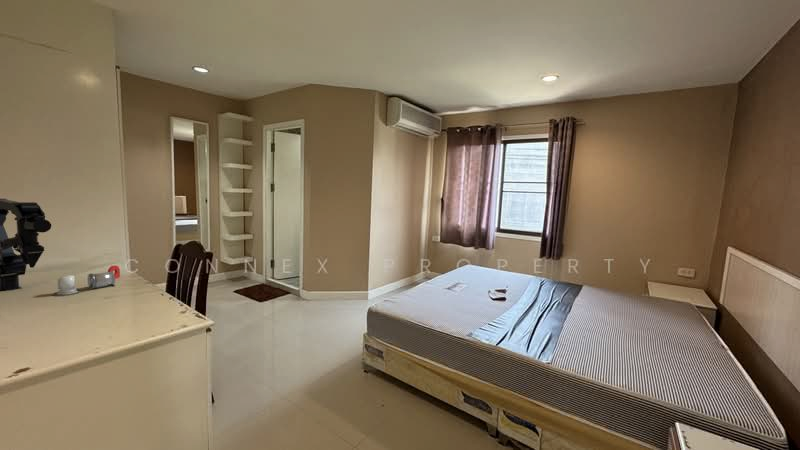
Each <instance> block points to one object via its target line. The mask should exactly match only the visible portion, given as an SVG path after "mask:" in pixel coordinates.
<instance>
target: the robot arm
mask: <svg viewBox="0 0 800 450" xmlns="http://www.w3.org/2000/svg"><path fill="white" fill-rule="evenodd" d="M9 212H10V213H11V214H12V215H15V217H14V221H16V233H15V234H14V236H13V237H9V236H8V233H7V231H6V228H5V226H4V224H5V222H6V220H7V215H8V214H10V213H9ZM51 228H52V223H51V222H50V221H49V220H48V219H46V215H45V212H44V211H43V209H42V208H41V205H39V204H38V202H33V201H32V202H31V201H29V202H23V201H22V202H21V201H16V200H10V199H8V198H0V292H7V291H13V290H22V289H23V287H21V286H20V279H19V278H20V277H19V276H25V274H26V272H27V271H26V270H27V266H28V265H29V268H30V269H31V268H35V266H36V264H37V262H38V261H39V259H40V258H41V256H42V255H43V254H44V252H45V247H44V246H43V245H41V244H40V242H39V241H38V240H39V239H38V237H39V236H40V233H43V234H44V233H46V232H47V233H48V232H49V231H50V230H51ZM15 251H16V252H17V253H19V254H17V253H15Z"/></svg>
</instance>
